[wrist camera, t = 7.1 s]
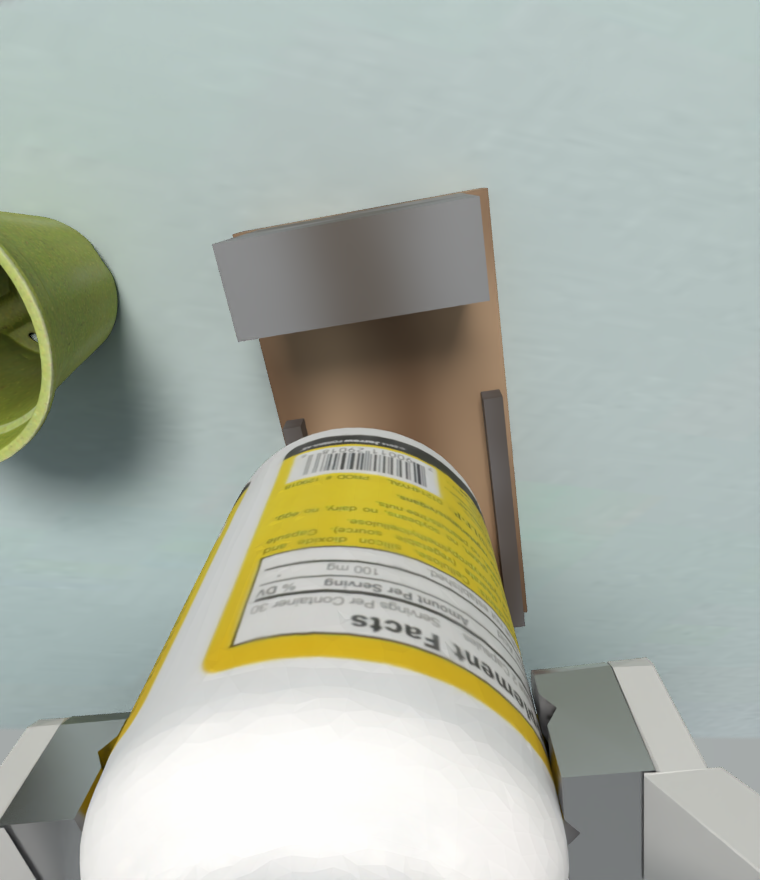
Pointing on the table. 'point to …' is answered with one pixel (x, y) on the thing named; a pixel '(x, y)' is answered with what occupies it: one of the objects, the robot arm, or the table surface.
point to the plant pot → (45, 318)
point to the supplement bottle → (336, 693)
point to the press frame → (389, 339)
